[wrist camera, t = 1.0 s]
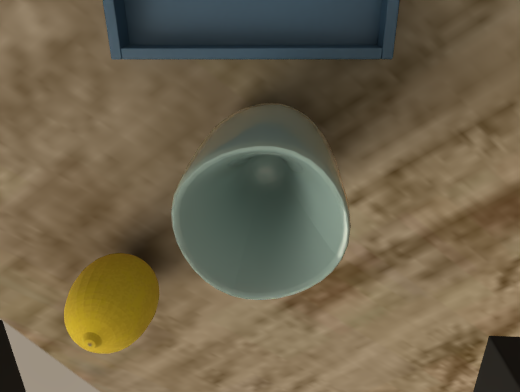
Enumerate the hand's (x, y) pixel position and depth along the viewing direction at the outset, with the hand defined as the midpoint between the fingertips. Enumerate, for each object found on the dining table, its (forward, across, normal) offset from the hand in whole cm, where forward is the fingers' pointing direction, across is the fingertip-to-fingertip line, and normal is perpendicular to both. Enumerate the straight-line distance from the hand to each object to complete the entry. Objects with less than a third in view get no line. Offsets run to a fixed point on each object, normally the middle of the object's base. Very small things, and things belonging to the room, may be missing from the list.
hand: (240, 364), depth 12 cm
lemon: (+18, -10, -9) cm, 22 cm away
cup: (+18, 0, 0) cm, 18 cm away
